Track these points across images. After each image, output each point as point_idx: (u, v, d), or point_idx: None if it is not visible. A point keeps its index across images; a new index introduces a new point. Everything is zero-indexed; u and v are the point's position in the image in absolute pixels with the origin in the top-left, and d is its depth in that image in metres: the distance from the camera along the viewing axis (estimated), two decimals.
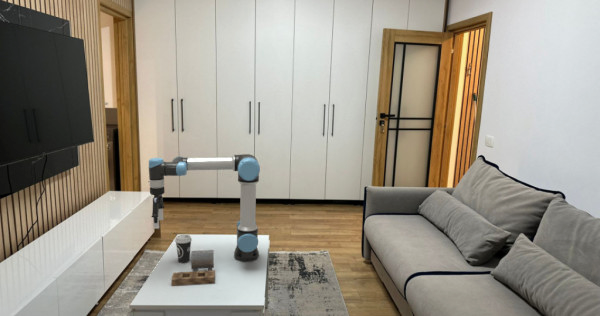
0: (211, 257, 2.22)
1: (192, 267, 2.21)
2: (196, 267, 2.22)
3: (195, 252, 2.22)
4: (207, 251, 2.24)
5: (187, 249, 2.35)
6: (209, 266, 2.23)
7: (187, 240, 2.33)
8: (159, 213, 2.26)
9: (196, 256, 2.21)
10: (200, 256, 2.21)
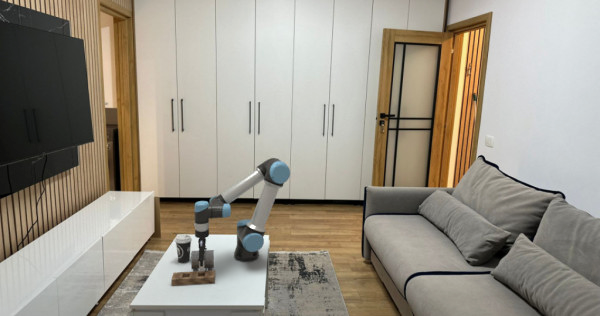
0: (211, 257, 2.22)
1: (192, 267, 2.21)
2: (196, 267, 2.22)
3: (195, 252, 2.22)
4: (207, 251, 2.24)
5: (187, 249, 2.35)
6: (209, 266, 2.23)
7: (187, 240, 2.33)
8: None
9: (196, 256, 2.21)
10: None
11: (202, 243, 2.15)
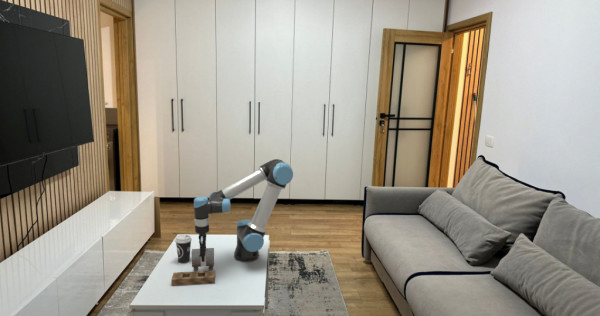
0: (211, 255, 2.22)
1: (193, 265, 2.21)
2: (197, 265, 2.22)
3: (195, 250, 2.22)
4: (207, 249, 2.24)
5: (187, 249, 2.35)
6: (210, 264, 2.23)
7: (187, 240, 2.33)
8: None
9: (196, 254, 2.21)
10: None
11: (202, 241, 2.15)
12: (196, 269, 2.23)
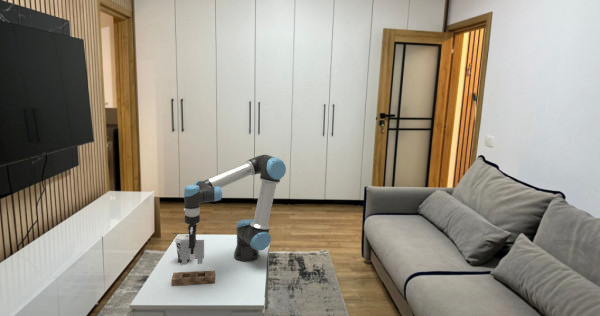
0: (201, 247, 2.10)
1: (181, 257, 2.09)
2: (185, 257, 2.09)
3: (184, 241, 2.10)
4: (197, 241, 2.11)
5: None
6: (199, 257, 2.11)
7: None
8: None
9: (185, 245, 2.08)
10: None
11: (192, 232, 2.03)
12: (184, 262, 2.10)
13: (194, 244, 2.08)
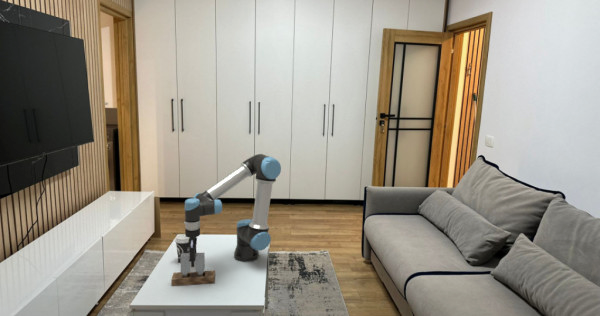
0: (202, 260, 2.11)
1: (181, 270, 2.10)
2: (186, 270, 2.11)
3: (185, 254, 2.11)
4: (197, 253, 2.13)
5: (187, 249, 2.35)
6: (199, 269, 2.12)
7: (187, 240, 2.33)
8: None
9: (185, 258, 2.10)
10: None
11: (193, 245, 2.04)
12: (185, 275, 2.12)
13: None
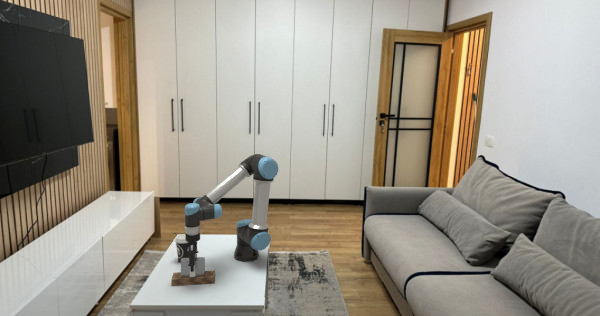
0: (202, 265, 2.12)
1: (182, 275, 2.11)
2: (186, 275, 2.11)
3: (185, 259, 2.11)
4: (198, 258, 2.13)
5: (187, 249, 2.35)
6: (200, 274, 2.12)
7: None
8: None
9: (185, 263, 2.10)
10: None
11: (193, 247, 2.04)
12: None
13: (194, 262, 2.06)
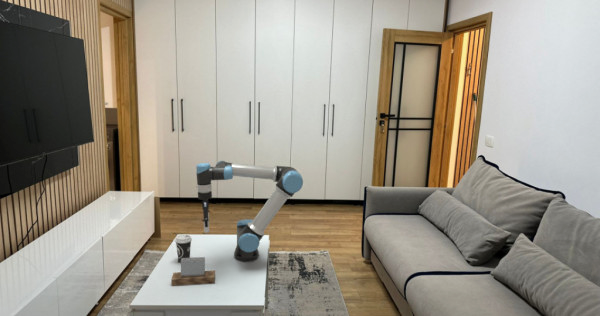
0: (202, 265, 2.12)
1: (182, 275, 2.11)
2: (186, 275, 2.11)
3: (185, 259, 2.11)
4: (198, 258, 2.13)
5: (187, 249, 2.35)
6: (200, 274, 2.12)
7: (187, 240, 2.33)
8: None
9: (185, 263, 2.10)
10: (190, 263, 2.11)
11: (206, 203, 2.15)
12: None
13: None
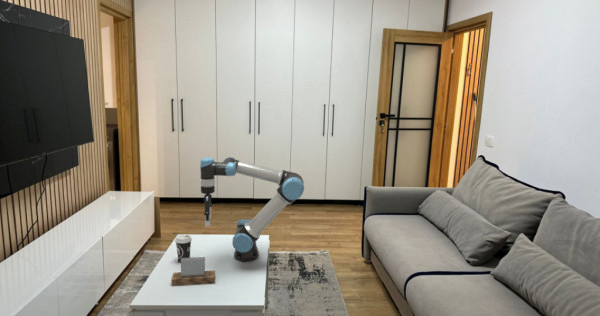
0: (202, 265, 2.12)
1: (182, 275, 2.11)
2: (186, 275, 2.11)
3: (185, 259, 2.11)
4: (198, 258, 2.13)
5: (187, 249, 2.35)
6: (200, 274, 2.12)
7: (187, 240, 2.33)
8: (207, 211, 2.34)
9: (185, 263, 2.10)
10: (190, 263, 2.11)
11: (208, 198, 2.19)
12: None
13: (209, 211, 2.20)
